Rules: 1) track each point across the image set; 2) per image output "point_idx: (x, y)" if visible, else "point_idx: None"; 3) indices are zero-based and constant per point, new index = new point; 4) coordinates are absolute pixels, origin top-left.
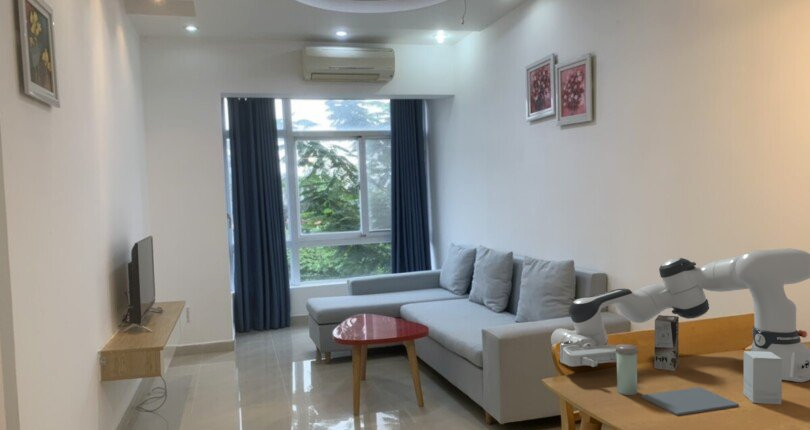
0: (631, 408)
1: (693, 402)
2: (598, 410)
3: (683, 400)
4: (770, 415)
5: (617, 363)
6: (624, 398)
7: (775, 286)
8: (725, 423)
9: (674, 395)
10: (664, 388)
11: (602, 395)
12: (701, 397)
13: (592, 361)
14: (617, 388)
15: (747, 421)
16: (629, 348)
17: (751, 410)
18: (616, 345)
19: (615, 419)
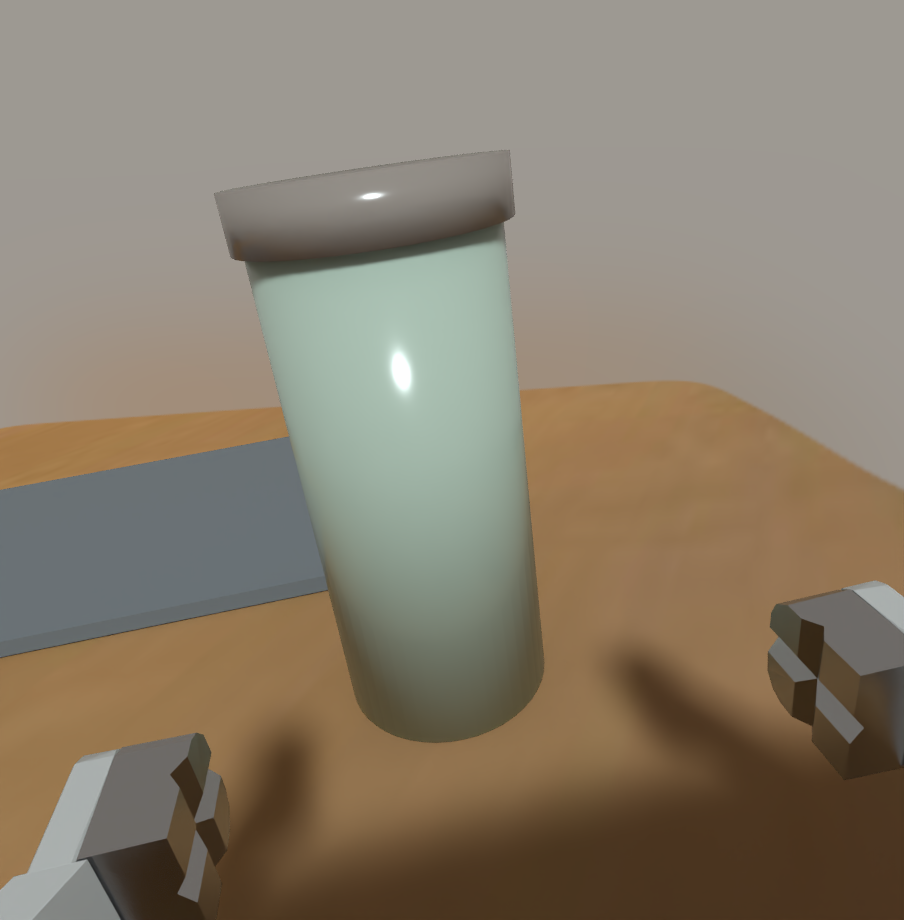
0: (559, 465)
1: (175, 494)
2: (773, 441)
3: (199, 509)
4: (5, 454)
5: (517, 376)
6: (540, 561)
7: None
8: (247, 409)
9: (170, 560)
10: (33, 729)
11: (718, 604)
12: (49, 540)
13: (887, 590)
14: (541, 638)
15: (152, 422)
16: (366, 169)
17: (5, 478)
18: (462, 160)
19: (688, 395)
